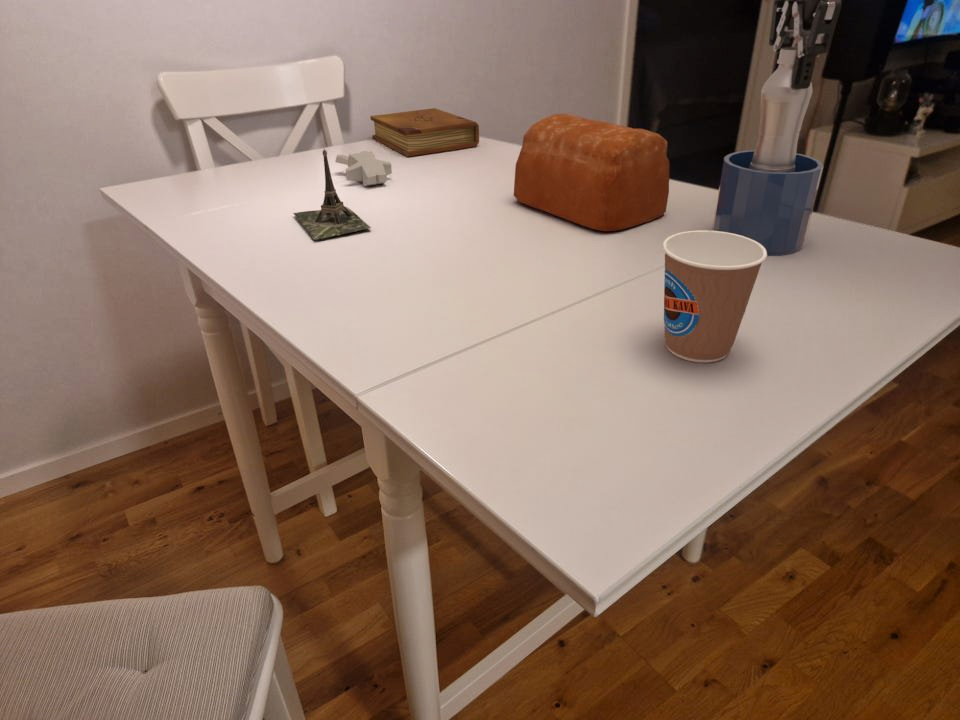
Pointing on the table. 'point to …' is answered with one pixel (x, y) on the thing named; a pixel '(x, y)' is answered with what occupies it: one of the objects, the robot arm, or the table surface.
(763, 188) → the blue bin
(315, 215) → the eiffel tower figurine
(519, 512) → the table surface
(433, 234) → the table surface
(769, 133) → the plastic bottle
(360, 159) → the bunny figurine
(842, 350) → the table surface
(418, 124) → the diary
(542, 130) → the bread
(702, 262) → the coffee cup
